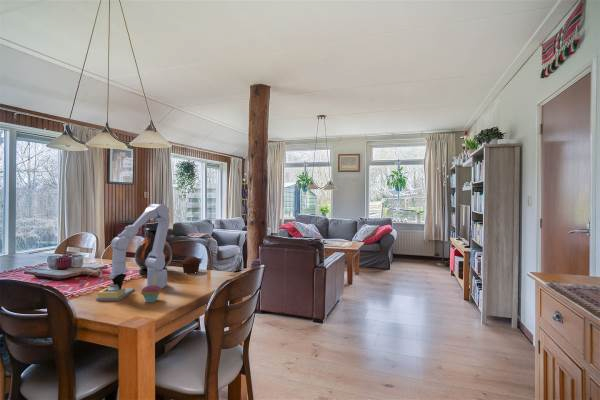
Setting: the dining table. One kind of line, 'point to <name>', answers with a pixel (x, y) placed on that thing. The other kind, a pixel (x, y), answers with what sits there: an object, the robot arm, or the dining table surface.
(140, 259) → the amphora vase
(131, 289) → the dock
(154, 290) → the cupcake
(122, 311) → the dining table surface
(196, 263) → the muffin
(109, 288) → the cart
